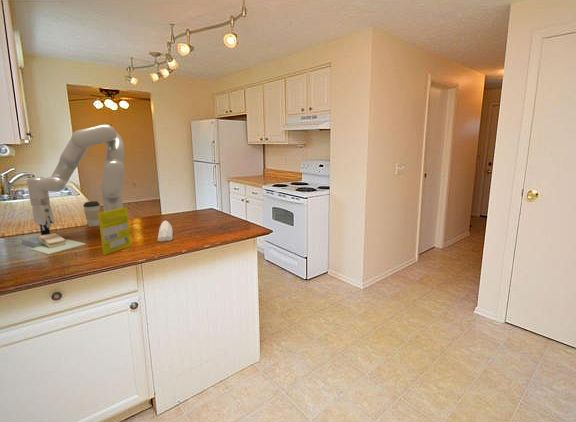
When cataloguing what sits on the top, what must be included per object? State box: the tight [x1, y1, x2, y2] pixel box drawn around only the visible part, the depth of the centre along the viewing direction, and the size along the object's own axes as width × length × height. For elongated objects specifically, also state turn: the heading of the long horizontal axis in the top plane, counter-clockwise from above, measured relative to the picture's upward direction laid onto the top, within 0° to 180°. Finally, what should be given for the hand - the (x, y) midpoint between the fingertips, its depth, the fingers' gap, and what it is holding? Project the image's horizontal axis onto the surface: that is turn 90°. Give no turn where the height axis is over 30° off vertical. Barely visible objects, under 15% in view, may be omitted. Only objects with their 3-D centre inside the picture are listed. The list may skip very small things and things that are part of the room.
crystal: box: [157, 220, 174, 243], centre depth 172 cm, size 7×7×24 cm
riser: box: [21, 234, 63, 248], centre depth 159 cm, size 14×12×2 cm
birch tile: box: [39, 232, 67, 248], centre depth 154 cm, size 10×7×2 cm
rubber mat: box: [30, 239, 87, 255], centre depth 153 cm, size 16×17×1 cm
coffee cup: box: [83, 200, 101, 227], centre depth 195 cm, size 9×9×15 cm
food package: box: [98, 206, 132, 256], centre depth 146 cm, size 15×1×20 cm, turn 159°
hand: (46, 237), depth 157 cm, fingers closed
